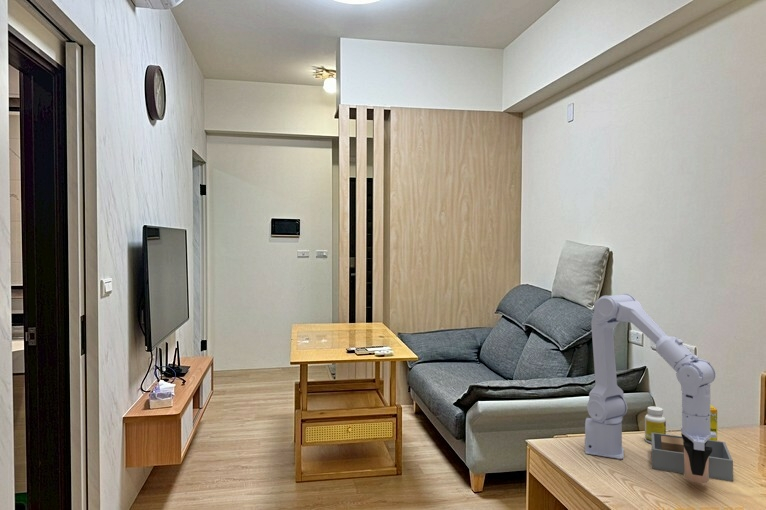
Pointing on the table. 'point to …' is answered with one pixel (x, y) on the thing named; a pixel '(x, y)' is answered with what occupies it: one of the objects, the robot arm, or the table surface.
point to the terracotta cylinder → (688, 471)
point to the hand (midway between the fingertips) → (696, 469)
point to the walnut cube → (672, 444)
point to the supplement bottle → (654, 422)
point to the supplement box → (713, 421)
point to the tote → (675, 460)
